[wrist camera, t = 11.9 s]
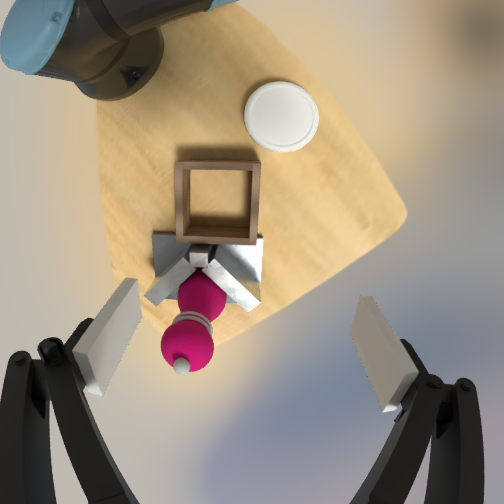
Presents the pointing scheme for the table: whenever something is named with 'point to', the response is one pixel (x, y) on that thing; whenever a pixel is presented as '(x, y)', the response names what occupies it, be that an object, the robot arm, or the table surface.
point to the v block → (206, 268)
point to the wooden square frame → (214, 233)
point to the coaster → (281, 116)
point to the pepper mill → (193, 323)
